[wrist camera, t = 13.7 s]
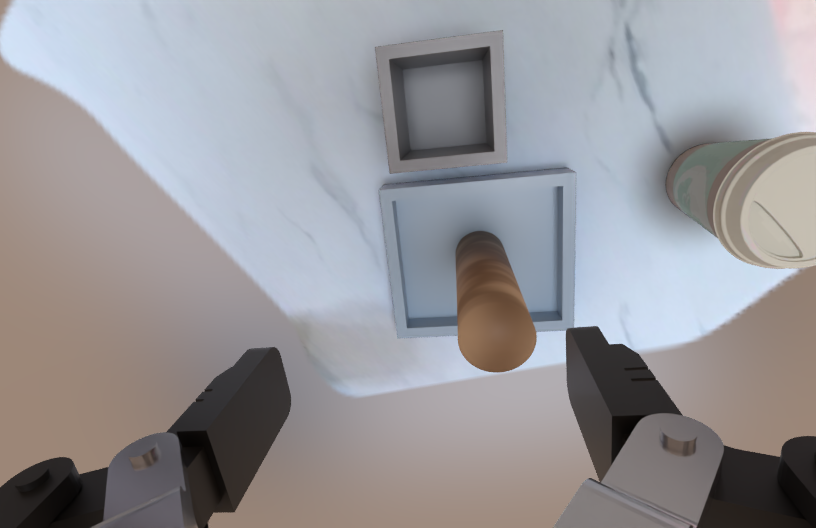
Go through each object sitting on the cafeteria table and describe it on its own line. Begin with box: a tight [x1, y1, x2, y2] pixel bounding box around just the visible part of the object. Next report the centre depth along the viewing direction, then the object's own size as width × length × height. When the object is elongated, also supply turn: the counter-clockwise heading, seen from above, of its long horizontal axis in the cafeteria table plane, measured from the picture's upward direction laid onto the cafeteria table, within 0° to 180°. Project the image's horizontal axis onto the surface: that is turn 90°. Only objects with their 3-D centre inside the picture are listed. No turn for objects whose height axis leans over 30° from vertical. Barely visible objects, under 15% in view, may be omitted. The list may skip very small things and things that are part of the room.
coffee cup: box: [666, 132, 816, 269], centre depth 32 cm, size 8×8×12 cm
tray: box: [379, 168, 576, 338], centre depth 40 cm, size 16×14×3 cm
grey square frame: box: [375, 30, 507, 174], centre depth 33 cm, size 8×8×9 cm
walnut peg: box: [456, 231, 536, 372], centre depth 33 cm, size 4×4×16 cm
